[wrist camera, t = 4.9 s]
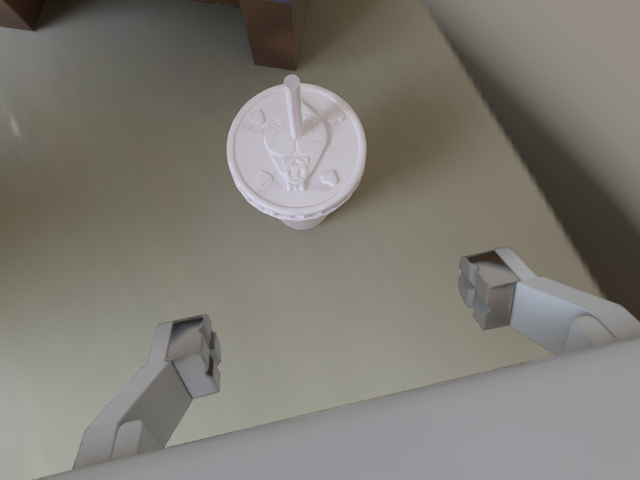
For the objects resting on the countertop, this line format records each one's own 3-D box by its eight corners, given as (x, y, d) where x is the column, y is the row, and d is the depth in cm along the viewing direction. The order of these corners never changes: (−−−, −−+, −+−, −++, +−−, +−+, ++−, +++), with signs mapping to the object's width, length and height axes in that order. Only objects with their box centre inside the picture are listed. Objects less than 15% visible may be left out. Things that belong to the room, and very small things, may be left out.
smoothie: (348, 157, 29) (380, 13, 15) (351, 249, 28) (388, 185, 14) (254, 158, 29) (201, 14, 15) (253, 251, 28) (195, 187, 14)
